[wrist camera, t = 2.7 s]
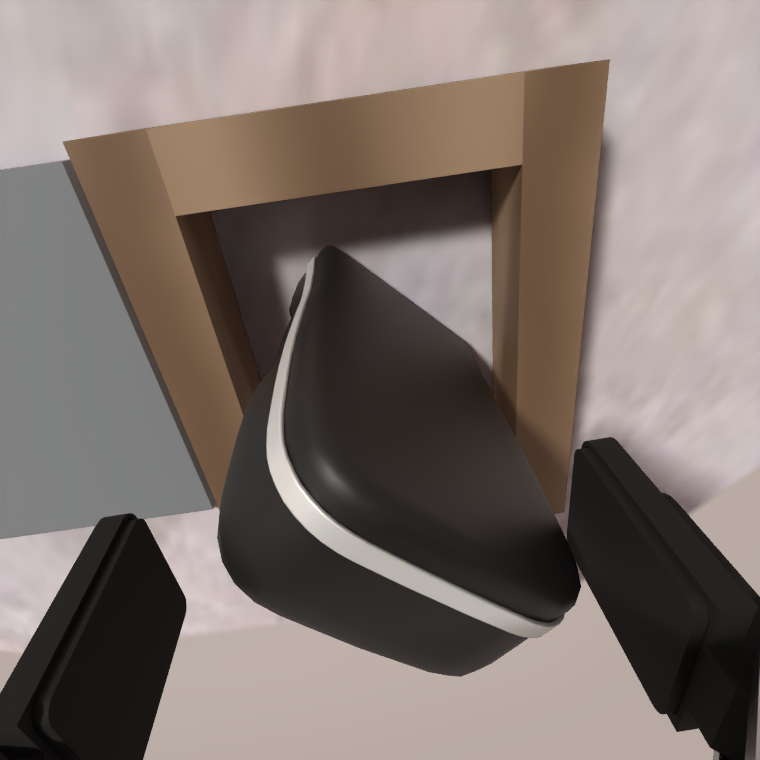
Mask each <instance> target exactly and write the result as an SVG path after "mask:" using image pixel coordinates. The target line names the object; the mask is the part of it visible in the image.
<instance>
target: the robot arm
mask: <svg viewBox="0 0 760 760" xmlns="http://www.w3.org/2000/svg"><path fill="white" fill-rule="evenodd" d="M567 542H568V545H569V547H570V549H571V552H572V554H573V557H574V559H575V561H576V563H577V565H578V566H579V568H580V570H581V572H582V574H583V576H584V578H585V579H586V581H587V583H588V585H589V587H590V589H591V591H592V593H593V594H594V596H595V598H596V600H597V602H598V604H599V606H600V607H601V609H602V611H603V613H604V615H605V617H606V619H607V620H608V622H609V624H610V626H611V628H612V630H613V632H614V633H615V635H616V637H617V639H618V641H619V643H620V645H621V647H622V648H623V650H624V652H625V654H626V656H627V658H628V660H629V662H630V663H631V665H632V667H633V669H634V671H635V673H636V674H637V676H638V678H639V680H640V682H641V684H642V686H643V688H644V689H645V691H646V693H647V695H648V697H649V699H650V701H651V703H652V704H653V706H654V708H655V709H656V710H657V711H658V712H659V713H660V714H667V715H668V717H669V718H670V720H671V722H672V724H673V726H674V727H675V729H676V731H677V732H679V731H685V730H692V729H698V728H699V729H700V731H701V733H702V735H703V736H704V738H705V740H706V741H707V743H708V745H709V746H710V748H712V749H713V750H714V755H713V760H760V597H759V595H757V593H756V592H755V591H754V590H753V589H752V587H751V586H750V585H749V584H748V583H747V582H746V581H745V580H744V578H743V577H741V575H740V574H739V573H738V571H737V570H736V569H735V568H734V567H733V566H732V565H731V563H730V562H729V561H728V560H727V559H726V558H725V557H724V555H723V554H722V553H721V552H720V551H719V550H718V549H717V548H716V546H714V544H713V543H712V542H711V541H710V539H709V538H708V537H707V536H706V535H705V534H704V533H703V532H702V530H701V529H700V528H699V527H698V526H697V525H696V523H695V522H694V521H693V520H692V519H691V518H690V516H689V515H688V514H687V513H686V512H685V511H684V510H683V508H682V507H681V506H680V505H679V504H678V503H677V502H676V501H675V500H674V499H673V498H672V497H671V496H669V495H667V494H665V493H661V492H660V491H659V490H658V488H657V487H656V486H655V485H654V484H653V483H652V481H651V480H650V479H649V478H648V477H647V476H646V474H645V473H644V472H643V471H642V470H641V469H640V467H639V466H638V465H637V464H636V463H635V461H634V460H633V459H632V458H631V457H630V456H629V454H628V453H627V452H626V451H625V450H624V449H623V447H622V446H621V445H620V444H619V443H618V442H617V441H616V440H615V439H614V438H612V437H609V438H603V439H596V440H590V441H585V442H584V443H583V444H582V448H581V449H577V450H576V451H575V455H574V465H573V475H572V486H571V497H570V507H569V518H568V528H567ZM185 614H186V598H185V596H184V594H183V592H182V590H181V588H180V586H179V584H178V582H177V580H176V578H175V577H174V575H173V573H172V571H171V569H170V567H169V565H168V563H167V561H166V559H165V558H164V556H163V554H162V552H161V550H160V548H159V546H158V544H157V542H156V541H155V539H154V537H153V535H152V533H151V531H150V529H149V527H148V525H147V523H146V522H145V520H144V519H142V518H140V519H138V518H137V517H136V515H134V514H133V513H127V514H121V515H114V516H108V517H103V518H102V519H100V520H99V522H98V523H97V525H96V527H95V528H94V530H93V532H92V534H91V535H90V537H89V539H88V541H87V542H86V544H85V546H84V548H83V549H82V551H81V553H80V555H79V556H78V558H77V560H76V562H75V563H74V565H73V567H72V569H71V570H70V572H69V574H68V576H67V577H66V579H65V581H64V583H63V584H62V586H61V588H60V590H59V591H58V593H57V595H56V597H55V598H54V600H53V602H52V604H51V605H50V607H49V609H48V611H47V612H46V614H45V616H44V618H43V619H42V621H41V623H40V625H39V627H38V628H37V630H36V632H35V634H34V635H33V637H32V639H31V641H30V642H29V644H28V646H27V648H26V649H25V651H24V653H23V655H22V656H21V658H20V660H19V662H18V663H17V665H16V667H15V669H14V671H13V672H12V674H11V676H10V677H9V679H8V681H7V683H6V684H5V686H4V688H3V690H2V691H1V693H0V760H143V757H144V754H145V751H146V747H147V744H148V740H149V737H150V734H151V730H152V727H153V723H154V720H155V716H156V713H157V710H158V706H159V703H160V699H161V696H162V693H163V689H164V686H165V682H166V679H167V675H168V672H169V669H170V665H171V662H172V658H173V655H174V651H175V648H176V645H177V641H178V638H179V635H180V631H181V628H182V624H183V621H184V618H185Z"/></svg>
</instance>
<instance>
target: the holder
mask: <svg viewBox="0 0 760 760" xmlns="http://www.w3.org/2000/svg"><path fill="white" fill-rule="evenodd" d="M609 61H610V59H609V60H602V61H594V62H587V63H579V64H572V65H564V66H557V67H550V68H544V69H537V70H530V71H524V72H517V73H510V74H504V75H497V76H490V77H484V78H477V79H471V80H464V81H457V82H451V83H444V84H437V85H431V86H424V87H417V88H411V89H404V90H398V91H391V92H384V93H378V94H371V95H364V96H358V97H351V98H344V99H338V100H331V101H325V102H318V103H311V104H305V105H298V106H291V107H285V108H278V109H271V110H265V111H258V112H252V113H245V114H238V115H232V116H225V117H218V118H212V119H205V120H198V121H192V122H185V123H178V124H172V125H165V126H159V127H152V128H145V129H139V130H132V131H125V132H119V133H112V134H106V135H100V136H94V137H88V138H83V139H77V140H71V141H65V142H63V144H64V146H65V148H66V151H67V153H68V155H69V158H70V160H71V162H72V165H73V167H74V170H75V172H76V174H77V177H78V179H79V181H80V184H81V186H82V188H83V191H84V193H85V195H86V198H87V200H88V202H89V205H90V207H91V209H92V212H93V214H94V216H95V219H96V221H97V224H98V226H99V228H100V231H101V233H102V235H103V238H104V240H105V242H106V245H107V247H108V249H109V252H110V254H111V256H112V259H113V261H114V263H115V266H116V268H117V270H118V273H119V275H120V278H121V280H122V282H123V285H124V287H125V289H126V292H127V294H128V296H129V299H130V301H131V303H132V306H133V308H134V310H135V313H136V315H137V317H138V320H139V322H140V325H141V327H142V329H143V332H144V334H145V336H146V339H147V341H148V343H149V346H150V348H151V350H152V353H153V355H154V357H155V360H156V362H157V364H158V367H159V369H160V371H161V374H162V376H163V379H164V381H165V383H166V386H167V388H168V390H169V393H170V395H171V397H172V400H173V402H174V404H175V407H176V409H177V411H178V414H179V416H180V418H181V421H182V423H183V425H184V428H185V430H186V433H187V435H188V437H189V440H190V442H191V444H192V447H193V449H194V451H195V454H196V456H197V458H198V461H199V463H200V465H201V468H202V470H203V472H204V475H205V477H206V480H207V482H208V484H209V487H210V489H211V491H212V494H213V496H214V498H215V501H216V503H217V505H218V508H219V510H220V505H221V497H222V493H223V489H224V484H225V480H226V476H227V472H228V468H229V464H230V461H231V457H232V453H233V449H234V446H235V442H236V439H237V435H238V432H239V428H240V425H241V422H242V419H243V416H244V413H245V410H246V408H247V405H248V402H249V400H250V398H251V396H252V395H253V393H254V391H255V389H256V388H257V386H258V385H259V383H260V382H261V380H260V376H259V373H258V370H257V366H256V363H255V360H254V356H253V353H252V350H251V346H250V343H249V340H248V337H247V333H246V330H245V327H244V323H243V320H242V317H241V313H240V310H239V307H238V304H237V300H236V297H235V294H234V290H233V287H232V284H231V280H230V277H229V274H228V271H227V267H226V264H225V261H224V257H223V254H222V251H221V247H220V244H219V241H218V238H217V234H216V231H215V228H214V224H213V221H212V218H211V214H210V211H213V210H220V209H226V208H233V207H240V206H247V205H253V204H260V203H267V202H274V201H280V200H287V199H294V198H301V197H307V196H314V195H321V194H327V193H334V192H341V191H348V190H354V189H361V188H368V187H375V186H381V185H388V184H395V183H402V182H408V181H415V180H422V179H428V178H435V177H442V176H449V175H455V174H462V173H469V172H476V171H482V170H489V169H492V312H493V396H494V398H495V400H496V402H497V403H498V405H499V407H500V409H501V411H502V413H503V415H504V416H505V418H506V420H507V422H508V424H509V426H510V428H511V430H512V431H513V433H514V435H515V437H516V439H517V441H518V443H519V445H520V447H521V449H522V450H523V452H524V454H525V456H526V458H527V460H528V462H529V464H530V466H531V468H532V470H533V472H534V474H535V476H536V478H537V480H538V482H539V484H540V486H541V488H542V490H543V492H544V494H545V496H546V498H547V500H548V503H549V505H550V507H551V509H552V511H553V513H561V512H564V508H565V498H566V488H567V478H568V468H569V458H570V448H571V438H572V428H573V419H574V409H575V399H576V389H577V379H578V369H579V359H580V349H581V339H582V329H583V319H584V309H585V299H586V290H587V280H588V270H589V260H590V250H591V240H592V230H593V220H594V210H595V200H596V190H597V180H598V170H599V161H600V151H601V141H602V131H603V121H604V111H605V101H606V91H607V81H608V71H609Z"/></svg>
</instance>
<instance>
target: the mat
mask: <svg viewBox="0 0 760 760" xmlns="http://www.w3.org/2000/svg"><path fill="white" fill-rule="evenodd" d="M214 504H215V498H214V496H213V494H212V491H211V489H210V487H209V484H208V482H207V480H206V477H205V475H204V472H203V470H202V468H201V465H200V463H199V461H198V458H197V456H196V454H195V451H194V449H193V447H192V444H191V442H190V440H189V437H188V435H187V433H186V430H185V428H184V425H183V423H182V421H181V418H180V416H179V414H178V411H177V409H176V407H175V404H174V402H173V400H172V397H171V395H170V393H169V390H168V388H167V386H166V383H165V381H164V379H163V376H162V374H161V371H160V369H159V367H158V364H157V362H156V360H155V357H154V355H153V353H152V350H151V348H150V346H149V343H148V341H147V339H146V336H145V334H144V332H143V329H142V327H141V325H140V322H139V320H138V317H137V315H136V313H135V310H134V308H133V306H132V303H131V301H130V299H129V296H128V294H127V292H126V289H125V287H124V285H123V282H122V280H121V278H120V275H119V273H118V270H117V268H116V266H115V263H114V261H113V259H112V256H111V254H110V252H109V249H108V247H107V245H106V242H105V240H104V238H103V235H102V233H101V231H100V228H99V226H98V224H97V221H96V219H95V216H94V214H93V212H92V209H91V207H90V205H89V202H88V200H87V198H86V195H85V193H84V191H83V188H82V186H81V184H80V181H79V179H78V177H77V174H76V172H75V170H74V167H73V165H72V162H71V160H65V161H58V162H51V163H45V164H38V165H31V166H25V167H18V168H11V169H5V170H0V539H5V538H12V537H19V536H26V535H34V534H41V533H48V532H55V531H62V530H69V529H76V528H83V527H90V526H96V525H97V523H98V522H99V520H100V519H102V518H103V517H108V516H114V515H121V514H127V513H133V514H134V515H136V517H137V518H138V519H140V518H142V519H147V518H154V517H161V516H168V515H175V514H182V513H189V512H196V511H203V510H210V509H213V507H214Z"/></svg>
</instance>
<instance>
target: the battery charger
mask: <svg viewBox="0 0 760 760" xmlns="http://www.w3.org/2000/svg"><path fill="white" fill-rule="evenodd" d="M289 312H290V316H291V320H290V322H289V325H288V327H287V329H286V332H285V334H284V337H283V339H282V342H281V345H280V348H279V350H278V353H277V356H276V359H275V362H274V364H273V366H272V367H271V369H270V370H269V371H268V373H267V374H266V375H265V377H264V378H263V379H262V381H261V382H260V383H259V385H258V386H257V388H256V389H255V391H254V393H253V395H252V396H251V398H250V400H249V402H248V405H247V408H246V410H245V413H244V416H243V419H242V422H241V425H240V428H239V432H238V435H237V439H236V442H235V446H234V449H233V453H232V457H231V461H230V464H229V468H228V472H227V476H226V480H225V484H224V489H223V493H222V497H221V505H220V515H219V525H218V536H217V538H218V543H219V548H220V553H221V558H222V562H223V564H224V566H225V567H226V569H227V571H228V573H229V574H230V576H231V578H232V580H233V582H234V583H235V584H236V585H237V586H238V587H239V588H240V589H241V590H242V591H243V592H244V593H245V594H246V595H247V596H249V597H250V598H251V599H252V600H253V601H254V602H255V603H257V604H259V605H261V606H263V607H265V608H267V609H268V610H270V611H272V612H274V613H276V614H278V615H280V616H282V617H284V618H287V619H289V620H292V621H294V622H297V623H299V624H302V625H304V626H306V627H309V628H311V629H314V630H316V631H319V632H321V633H324V634H326V635H329V636H331V637H334V638H336V639H338V640H341V641H343V642H346V643H348V644H351V645H353V646H356V647H358V648H361V649H364V650H367V651H369V652H372V653H375V654H378V655H381V656H384V657H387V658H390V659H393V660H395V661H398V662H401V663H404V664H407V665H410V666H413V667H416V668H419V669H422V670H425V671H427V672H432V673H437V674H442V675H449V676H463V675H466V674H469V673H471V672H474V671H476V670H479V669H481V668H483V667H485V666H487V665H489V664H491V663H493V662H494V661H496V660H497V659H498V658H500V657H501V656H503V655H504V654H506V653H507V652H509V651H510V650H512V649H513V648H514V647H516V646H518V645H519V644H521V643H522V642H523V641H525V640H526V639H528V638H537V637H541V636H542V635H543V634H545V633H547V632H548V631H550V630H551V629H553V628H554V627H556V626H557V625H559V624H560V623H561V621H562V620H563V618H564V614H565V613H566V612H568V611H569V610H570V609H571V608H572V607H573V606H574V605H575V603H576V600H577V597H578V594H579V591H580V588H581V584H580V579H579V573H578V569H577V565H576V562H575V559H574V557H573V554H572V552H571V549H570V547H569V545H568V542H567V540H566V538H565V536H564V534H563V532H562V530H561V527H560V525H559V523H558V521H557V519H556V517H555V515H554V513H553V511H552V509H551V507H550V505H549V503H548V500H547V498H546V496H545V494H544V492H543V490H542V488H541V486H540V484H539V482H538V480H537V478H536V476H535V474H534V472H533V470H532V468H531V466H530V464H529V462H528V460H527V458H526V456H525V454H524V452H523V450H522V449H521V447H520V445H519V443H518V441H517V439H516V437H515V435H514V433H513V431H512V430H511V428H510V426H509V424H508V422H507V420H506V418H505V416H504V415H503V413H502V411H501V409H500V407H499V405H498V403H497V402H496V400H495V398H494V396H493V394H492V392H491V391H490V389H489V387H488V385H487V383H486V381H485V379H484V377H483V375H482V373H481V371H480V369H479V367H478V365H477V363H476V360H475V358H474V356H473V354H472V352H471V350H470V348H469V346H468V345H467V344H466V343H465V342H464V341H463V340H462V339H460V338H459V337H458V336H456V335H455V334H454V333H452V332H451V331H450V330H448V329H447V328H445V327H444V326H443V325H441V324H440V323H439V322H437V321H436V320H435V319H433V318H432V317H431V316H429V315H428V314H427V313H425V312H424V311H423V310H421V309H420V308H419V307H417V306H416V305H415V304H413V303H412V302H410V301H409V300H408V299H406V298H405V297H404V296H402V295H401V294H400V293H398V292H397V291H395V290H394V289H393V288H391V287H390V286H389V285H387V284H386V283H385V282H383V281H382V280H380V279H379V278H378V277H376V276H375V275H374V274H372V273H371V272H369V271H368V270H367V269H365V268H364V267H363V266H361V265H360V264H358V263H357V262H356V261H354V260H353V259H352V258H350V257H349V256H347V255H346V254H345V253H343V252H342V251H341V250H339V249H338V248H336V247H334V246H327V247H325V248H324V249H323V250H322V251H321V252H320V253H319V255H318V256H314V257H313V258H312V260H311V261H310V263H309V264H308V265H307V271H306V273H305V274H304V276H303V277H302V278H301V280H300V281H299V283H298V285H297V288H296V290H295V293H294V295H293V297H292V302H291V305H290V308H289Z"/></svg>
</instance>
